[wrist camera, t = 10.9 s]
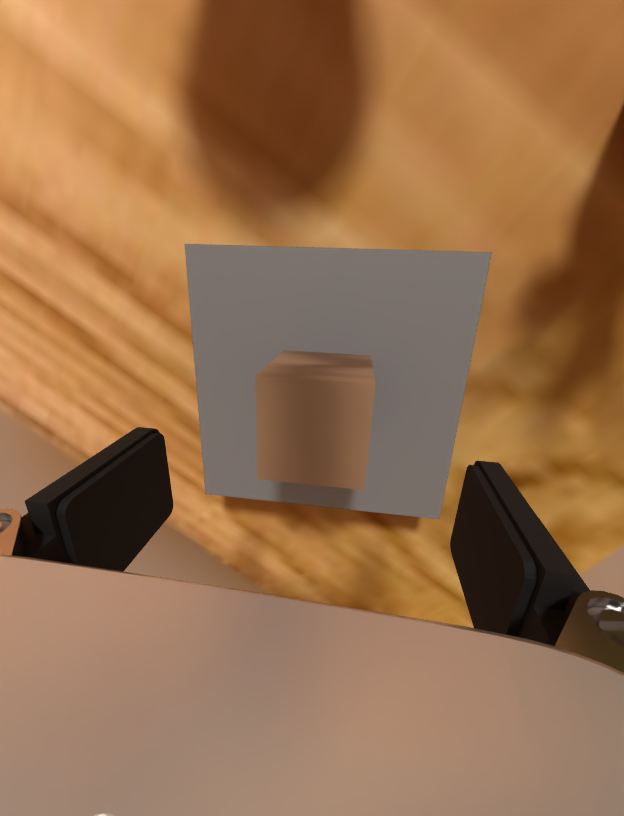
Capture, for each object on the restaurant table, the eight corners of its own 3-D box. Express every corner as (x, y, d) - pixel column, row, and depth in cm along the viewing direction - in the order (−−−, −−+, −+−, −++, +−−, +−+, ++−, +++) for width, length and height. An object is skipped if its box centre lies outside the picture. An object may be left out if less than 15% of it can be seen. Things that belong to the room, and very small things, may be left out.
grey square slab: (467, 257, 21) (491, 252, 17) (427, 485, 26) (439, 519, 23) (213, 250, 22) (184, 243, 19) (226, 466, 28) (205, 494, 24)
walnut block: (370, 355, 20) (375, 384, 14) (362, 435, 21) (364, 490, 16) (284, 350, 20) (255, 375, 14) (283, 429, 22) (257, 479, 16)
